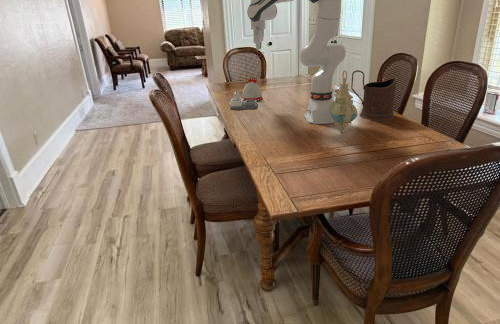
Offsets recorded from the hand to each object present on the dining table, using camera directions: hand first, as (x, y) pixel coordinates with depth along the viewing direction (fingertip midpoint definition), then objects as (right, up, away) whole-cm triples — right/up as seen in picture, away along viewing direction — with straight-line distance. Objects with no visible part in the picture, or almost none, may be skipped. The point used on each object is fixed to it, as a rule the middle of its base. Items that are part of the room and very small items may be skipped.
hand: (259, 49), depth 215 cm
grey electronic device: (-10, -35, +7) cm, 37 cm away
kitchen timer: (-4, -26, +28) cm, 38 cm away
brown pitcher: (+62, -45, -23) cm, 80 cm away
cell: (-14, -33, +8) cm, 37 cm away
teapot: (+39, -56, -46) cm, 83 cm away
